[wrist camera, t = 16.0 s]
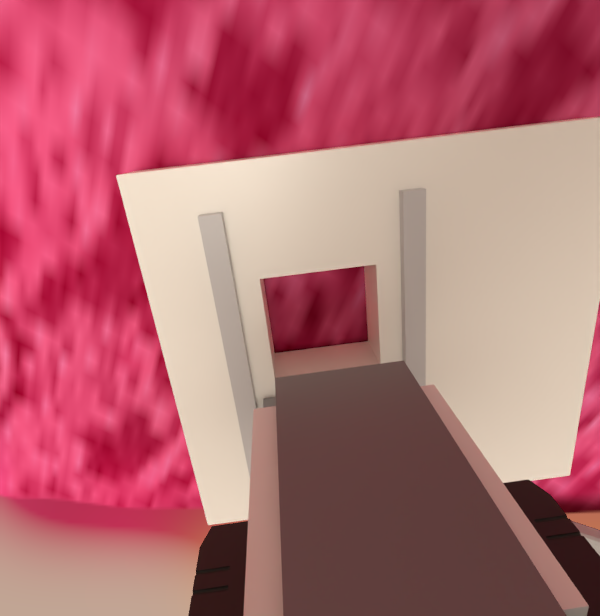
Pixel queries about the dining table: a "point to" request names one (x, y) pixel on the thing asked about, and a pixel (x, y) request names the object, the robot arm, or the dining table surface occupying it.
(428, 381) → the socket board
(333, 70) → the dining table surface
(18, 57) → the dining table surface
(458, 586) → the plug
